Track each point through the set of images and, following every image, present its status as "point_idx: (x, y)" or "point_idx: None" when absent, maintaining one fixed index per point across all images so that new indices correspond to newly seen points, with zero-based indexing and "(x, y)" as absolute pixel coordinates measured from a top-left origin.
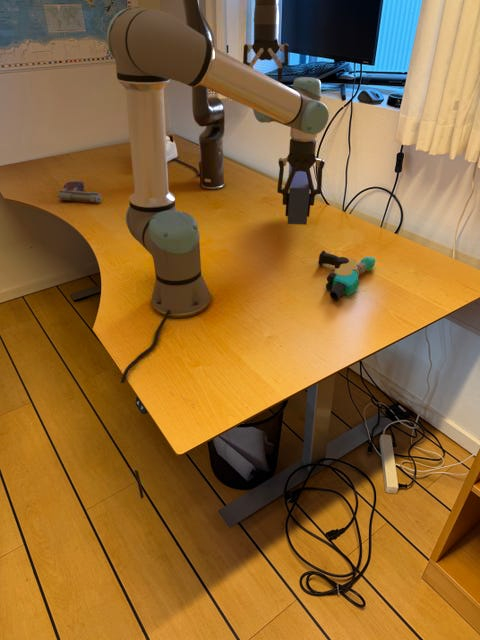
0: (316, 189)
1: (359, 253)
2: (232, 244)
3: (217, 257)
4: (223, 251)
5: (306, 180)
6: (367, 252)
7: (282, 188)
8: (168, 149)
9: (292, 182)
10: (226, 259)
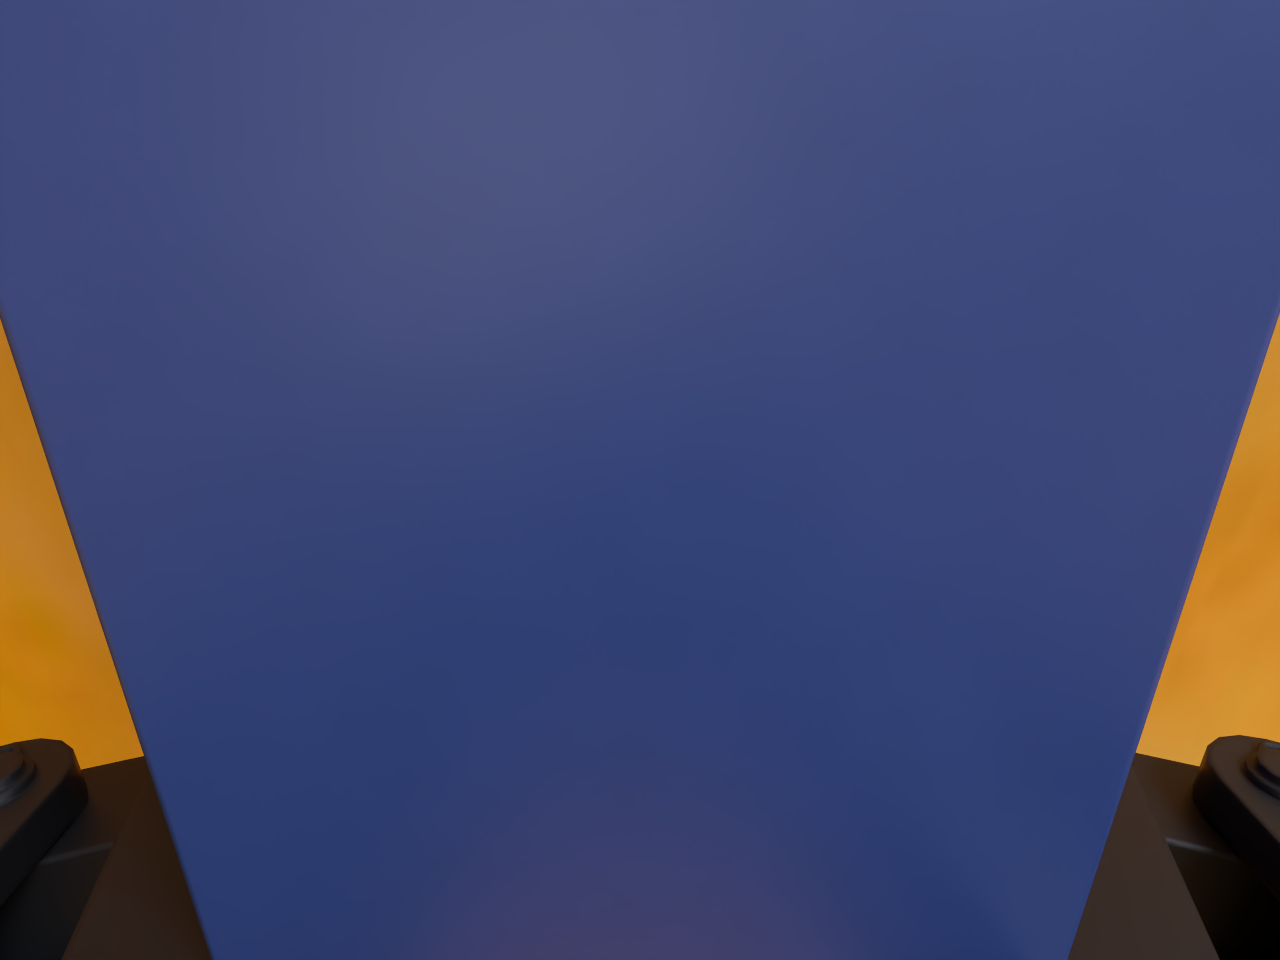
0: (1200, 881)
1: (1187, 628)
2: (53, 520)
3: (28, 724)
4: (31, 639)
5: (1036, 679)
6: (1267, 610)
7: (95, 871)
8: None
9: (322, 945)
10: (109, 747)
